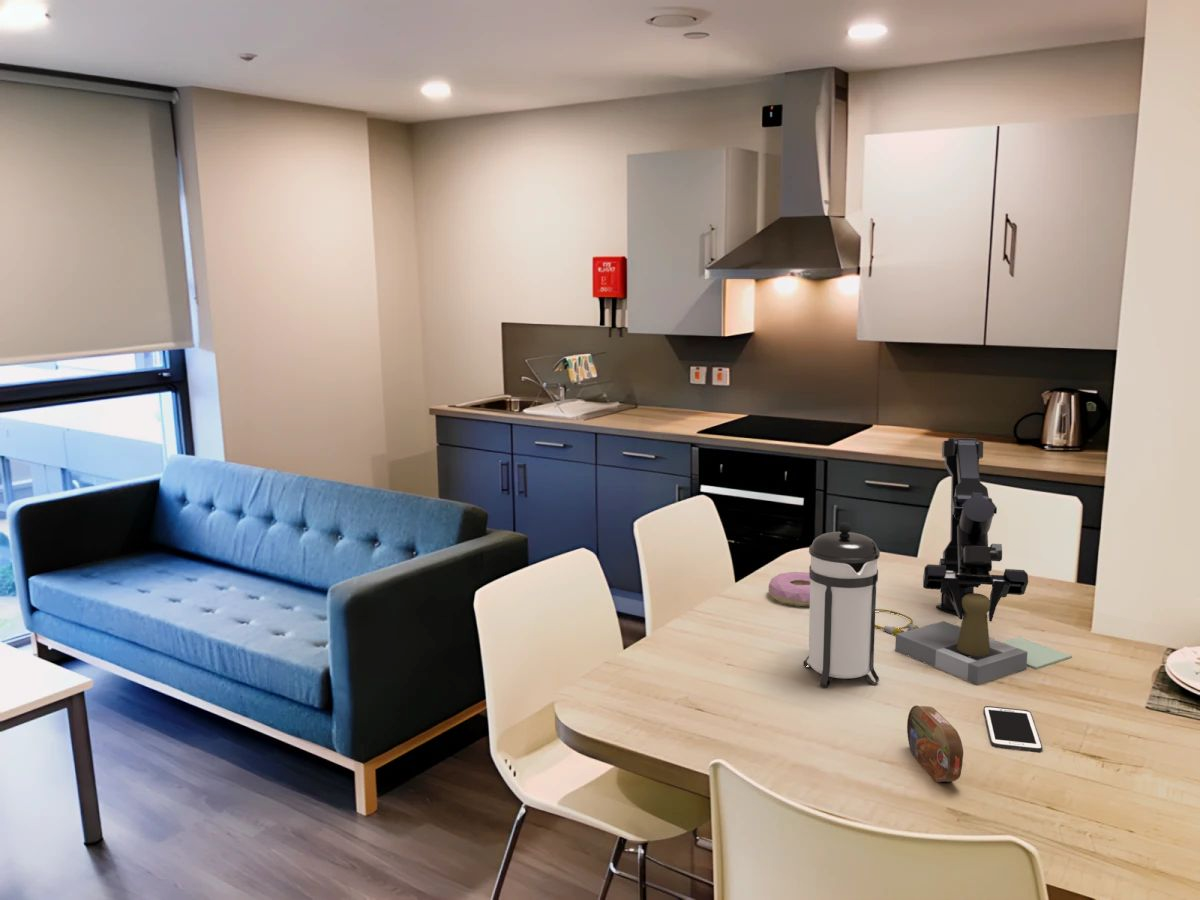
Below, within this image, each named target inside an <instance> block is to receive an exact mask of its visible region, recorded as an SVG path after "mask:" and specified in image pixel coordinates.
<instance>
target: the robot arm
mask: <svg viewBox="0 0 1200 900" xmlns="http://www.w3.org/2000/svg"><path fill="white" fill-rule="evenodd" d="M941 458H944V467H945V469H946V471H947V472H948V474H949V475H950V477H951V487H950V488H951V490H950V491H951V492H950V494H951V495H950V497H951V498H950V533H949V534H950V539H949V540H950V541H949V542H948V544H947V545H946V547H945V548H944V550H943V552H942V558H940V559H939V563H938V564H929V563H927V564H926V565H925V567H924V568H923V569H924V570H923V576H922V587H923V588H924V590H925V589H926V590H938V591H939V590H940V591H939V592H940V594H941V595H940V596H941V597H940V599H941V600H940V604H938V605H935V608H936V609H939V610H941V611H945V612H947V613H950V614H953V615H956V616H958V619H959V620H962V619H963V614H964V610H963V608H962V604H961V601H962V598H963V597H964V596H965V595H966V594H970V593H975V592H974V589H975V588H979V586H982V585H986V586H987V585H988V586H991V592H990V596H989V600H990V604H991V606H990V610H989V611H988V621H989V622H992V621H993V618H994V615H995V611H996V608H997V606H998V604H999V602H1000V599H1001V598H1007V596H1008V595H1013V596H1014V595H1015V596H1022V595H1025V593H1026V589H1027V587H1028V583H1029V576H1028V572H1027V571H1025V569H1017V568H1016V569H1014V568H1005V569H1004V573H1003V575H1000V574H990V572H992V569H993V562H1001V561H1002V560H1003V546H1002V543H991V544H990V546H989V534H988V533H989V531H990V529H991V525H992V522H993V517H994V516H995V515H997V508H998V507H997V506H996V505H995V503H994V502H993V500H992V498H991V497H990V496H989V492H988V487H986V485H984V484H983V483H982V482H981V478H980V469H979V468H980V467H979V464H980V460H981V459H983V458H984V441H980V440H979V439H977V438H973V437H972V438H971V437H970V438H969V437H968V438H967V437H948V438H947V440H944V441H942V443H941Z"/></svg>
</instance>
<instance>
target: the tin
mask: <svg viewBox="0 0 1200 900" xmlns="http://www.w3.org/2000/svg"><path fill="white" fill-rule="evenodd" d="M906 722H907V723H906V733H907V740H908V741H907V742H908V746H909V749H910V751H911V753H912V755H913V758H915V759H916V760H917V762H918V763H919V764H920V765H921V766H922V767H923V768H924V770H925V771H926V772H927V774H929V776H930V777H931V778H932V779H933V780H934V781H935V782H937V783H942V782H947V783H948V782H956V781H957V780H959V779H960V777H961V775H962V769H963V759H964V747H963V742H962V738H961V737H960V735H959V733H958V731H957V729H956V728H955V727H954V726H953V725H952V724H951V723H950V722H949V721H948V720H947V719H946V718H945V717H943V715H942V714H941V713H940V712H938V711H937V709H936V708H934V707H933V706H923V705H913V706H912V707H911V708H910V710H909V711H908V716H907V720H906Z"/></svg>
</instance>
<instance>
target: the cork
mask: <svg viewBox="0 0 1200 900" xmlns="http://www.w3.org/2000/svg"><path fill="white" fill-rule="evenodd" d="M961 604H962V608H963V610H964V614H963V615H962V619H961V625H960V627H961V628H960V633H959V638H958V643H957V650H958V651H960V652H962V653H965V654H968V655H975V656H983V655H987V654H989V653H990V645H989V638H990V634H989V623H988V621H989V620H988V613H989V610H990V606H991V604H990V597H988V596H987V595H985V594H981V593H975V592H973V593H970V594H966V595H965V596H964V597H963V598H962V601H961Z"/></svg>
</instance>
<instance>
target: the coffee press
mask: <svg viewBox="0 0 1200 900" xmlns="http://www.w3.org/2000/svg"><path fill="white" fill-rule="evenodd" d="M851 526H852V525H851V524H850V523H849V522H847V521H843V522H841V523H840V524H839V525H838V527H837V529H838V530H839V531H831V532H826V533H822V534H820V535H818V536H817V537H815V539H813V541H812V544H810V545H809V547H808V553H809V556H810V565H809V570H808V573H809V577H810V606H809V615H808V616H809V619H808V655H807V657H806V658H805V659H804V660H803V666H805V668H806V666H807V665H811V666H809V667H808V668H807V669H809V668H812V669H813V670H814V671H815V672H817V673H819V674H820V675H821V677H820V680H819V686H820V687H823V688H829V687H830V685H831V682H832V680H833V679H834V678H836V679H857V678H861V677H862V678H864V679H865V680H866V681H867V682H868V683H869V684H870V685H872V686H875V685H876V684H878V683H879V681H880V678H879V676H878V674H877V673H876V671H875V666H874V663H875V662H874V661H875V660H874V658H875V656H874V655H875V633H876V630H875V629H876V628H875V625H876V612H875V609H877V608H876V603H877V600H876V599H877V583H878V579H879V570H878V559H879V558H880V556H881V554H880V553H881V551H880V549H879V548H878V546H877V543H876V542H875V541H874V540H873V539H872V538H871V537H869V536H867V535H864V534H860V533H857V532H851V530H852V527H851ZM808 663H809V664H808ZM869 673H870V674H871V675H872V678H873V679H874V680H873V679H872V678H871V677H870V675H868V674H869Z"/></svg>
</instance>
